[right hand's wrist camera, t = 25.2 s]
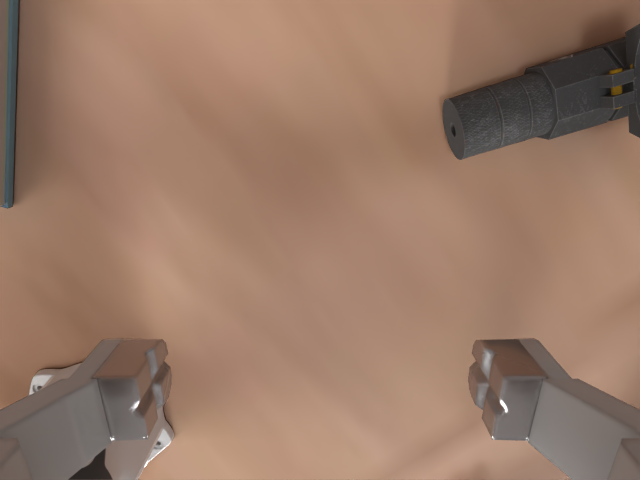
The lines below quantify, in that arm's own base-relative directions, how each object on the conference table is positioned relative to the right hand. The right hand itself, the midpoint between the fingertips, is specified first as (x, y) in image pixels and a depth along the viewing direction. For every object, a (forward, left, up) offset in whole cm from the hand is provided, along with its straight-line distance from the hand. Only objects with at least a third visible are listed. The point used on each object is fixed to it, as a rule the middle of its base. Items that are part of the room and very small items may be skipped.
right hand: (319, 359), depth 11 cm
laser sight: (+18, -15, -32) cm, 40 cm away
